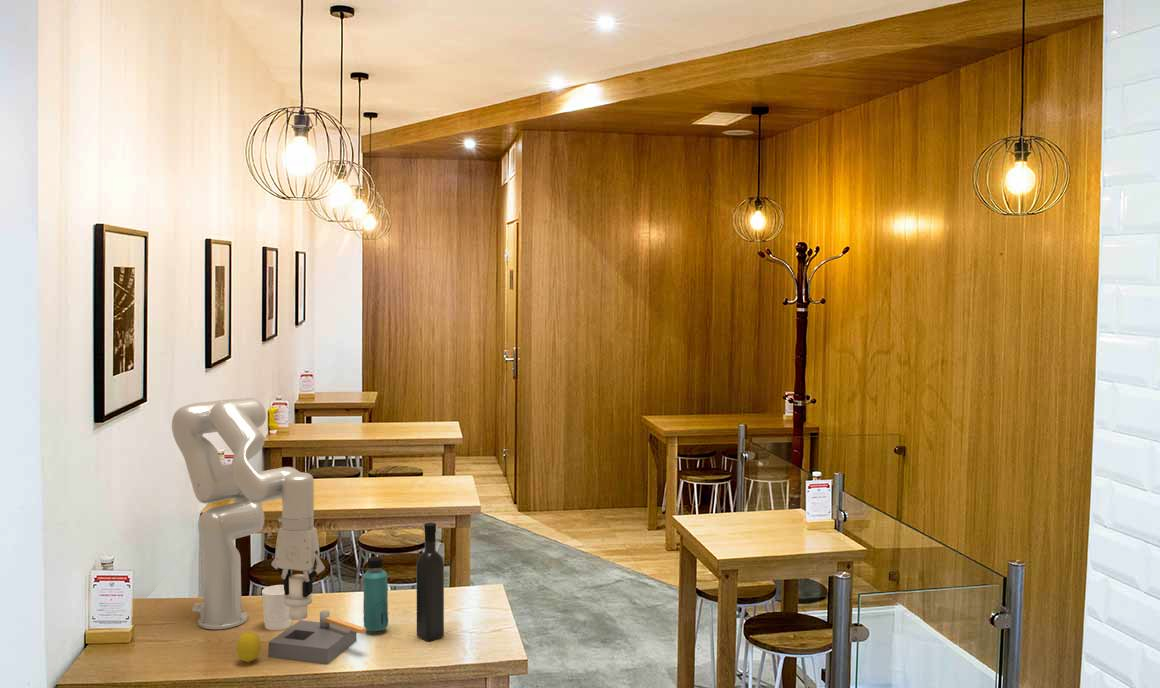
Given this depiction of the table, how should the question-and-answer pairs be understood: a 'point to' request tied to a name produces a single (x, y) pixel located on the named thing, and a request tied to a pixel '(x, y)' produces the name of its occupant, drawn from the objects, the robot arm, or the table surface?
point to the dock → (311, 642)
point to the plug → (297, 598)
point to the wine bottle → (430, 589)
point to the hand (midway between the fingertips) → (298, 593)
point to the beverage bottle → (375, 596)
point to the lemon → (248, 646)
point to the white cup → (275, 608)
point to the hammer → (338, 623)
